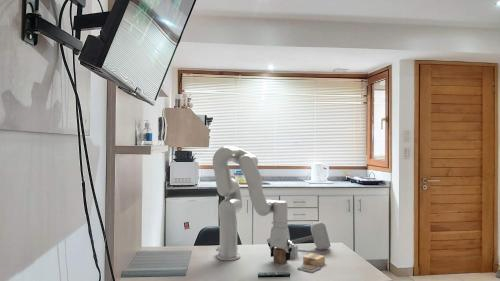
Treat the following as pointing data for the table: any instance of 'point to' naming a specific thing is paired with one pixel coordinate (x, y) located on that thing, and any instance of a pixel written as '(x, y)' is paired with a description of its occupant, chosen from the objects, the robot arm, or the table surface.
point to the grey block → (294, 251)
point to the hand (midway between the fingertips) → (280, 258)
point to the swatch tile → (309, 268)
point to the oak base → (314, 260)
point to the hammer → (317, 236)
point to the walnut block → (279, 255)
